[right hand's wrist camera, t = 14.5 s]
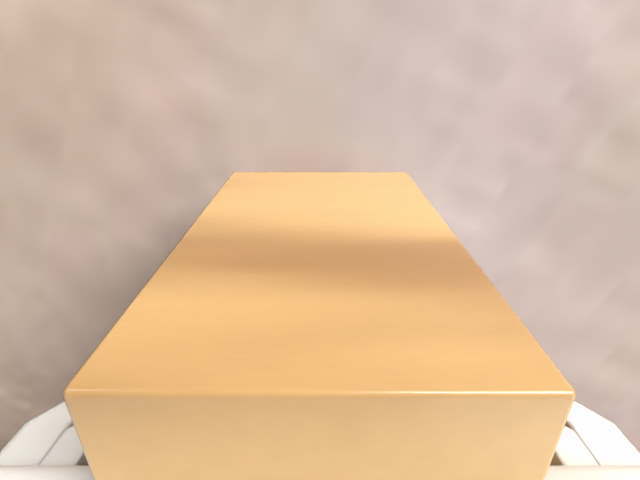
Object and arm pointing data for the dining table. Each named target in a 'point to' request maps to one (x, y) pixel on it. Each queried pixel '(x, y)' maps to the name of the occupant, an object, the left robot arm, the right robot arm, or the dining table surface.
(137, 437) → the bar
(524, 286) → the dining table surface
